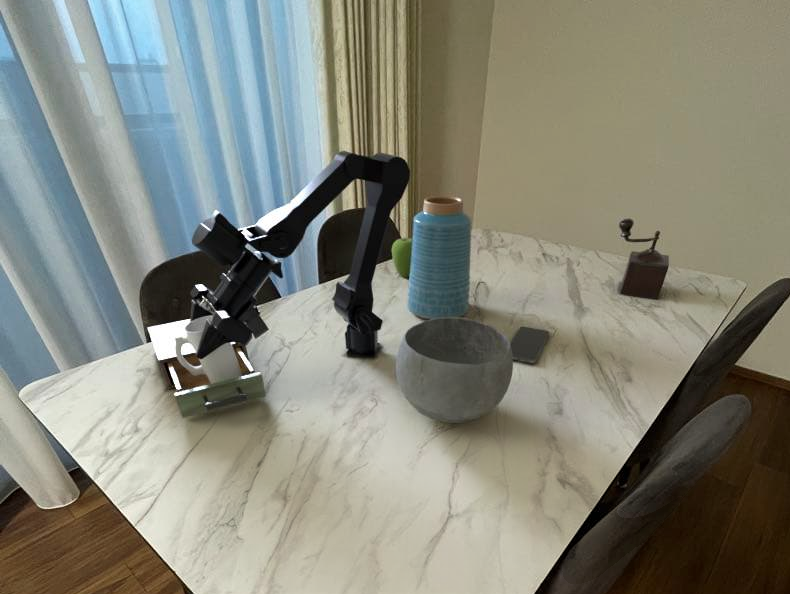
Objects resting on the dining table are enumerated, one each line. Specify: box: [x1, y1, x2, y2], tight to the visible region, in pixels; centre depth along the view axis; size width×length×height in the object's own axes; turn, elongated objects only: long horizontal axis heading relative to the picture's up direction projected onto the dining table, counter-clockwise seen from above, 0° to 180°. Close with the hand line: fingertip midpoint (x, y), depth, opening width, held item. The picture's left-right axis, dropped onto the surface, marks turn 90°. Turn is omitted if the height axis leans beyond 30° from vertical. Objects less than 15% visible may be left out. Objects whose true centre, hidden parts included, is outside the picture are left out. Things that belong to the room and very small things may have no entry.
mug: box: [174, 315, 243, 384], centre depth 88 cm, size 10×7×12 cm, turn 110°
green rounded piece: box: [391, 236, 412, 278], centre depth 142 cm, size 9×8×12 cm
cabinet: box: [146, 318, 251, 390], centre depth 101 cm, size 17×17×7 cm
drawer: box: [167, 346, 267, 419], centre depth 90 cm, size 20×15×5 cm
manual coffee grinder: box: [618, 218, 670, 300], centre depth 133 cm, size 16×11×18 cm
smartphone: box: [510, 325, 550, 364], centre depth 109 cm, size 7×1×16 cm
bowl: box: [395, 317, 514, 424], centre depth 85 cm, size 20×20×15 cm
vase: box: [406, 195, 473, 321], centre depth 117 cm, size 16×16×27 cm
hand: (193, 350), depth 86 cm, fingers closed on mug, 6 cm apart
